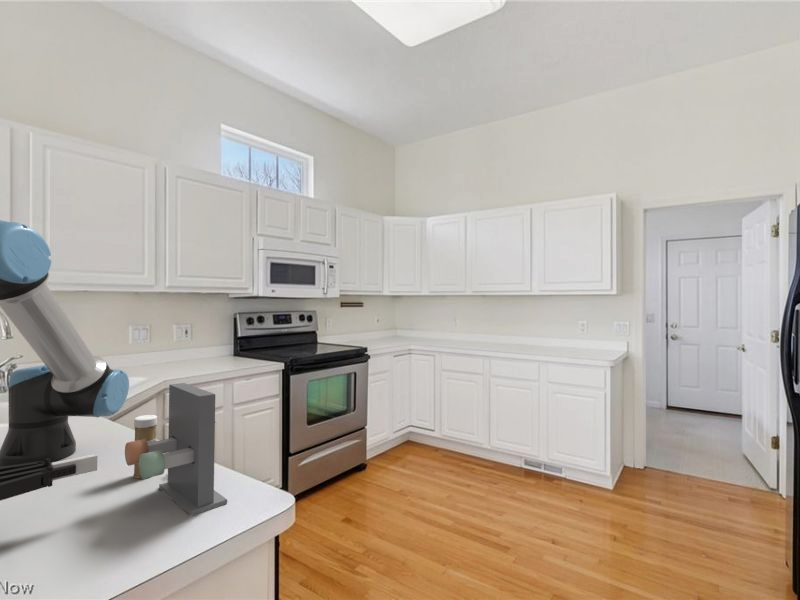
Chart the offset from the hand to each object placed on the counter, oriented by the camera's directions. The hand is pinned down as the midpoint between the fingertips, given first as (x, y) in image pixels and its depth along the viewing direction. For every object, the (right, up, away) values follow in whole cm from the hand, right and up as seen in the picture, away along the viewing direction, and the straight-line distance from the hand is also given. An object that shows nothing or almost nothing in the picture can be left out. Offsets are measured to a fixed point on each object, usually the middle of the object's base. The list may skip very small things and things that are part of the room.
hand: (96, 462), depth 80 cm
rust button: (+7, -2, +8) cm, 11 cm away
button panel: (+13, -10, +8) cm, 19 cm away
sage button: (+14, -2, +2) cm, 14 cm away
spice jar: (-2, -10, +18) cm, 21 cm away
